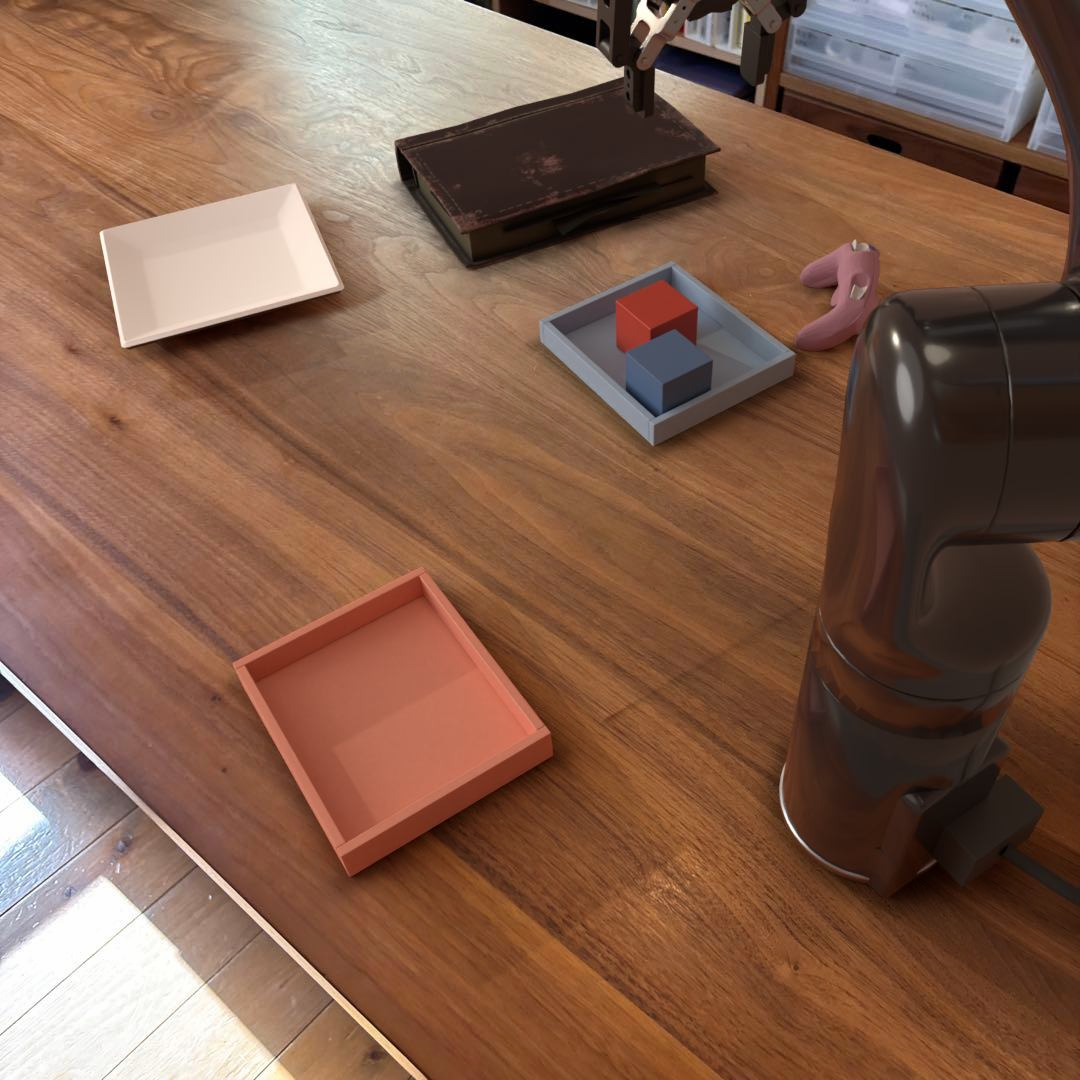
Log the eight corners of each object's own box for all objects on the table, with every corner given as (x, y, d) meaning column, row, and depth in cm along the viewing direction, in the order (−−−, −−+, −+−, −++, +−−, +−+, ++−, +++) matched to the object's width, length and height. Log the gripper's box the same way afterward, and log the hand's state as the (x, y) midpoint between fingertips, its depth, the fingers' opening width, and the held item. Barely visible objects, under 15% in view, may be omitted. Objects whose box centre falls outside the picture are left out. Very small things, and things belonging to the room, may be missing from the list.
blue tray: (792, 379, 85) (796, 353, 83) (653, 450, 81) (653, 425, 79) (671, 285, 94) (672, 260, 92) (540, 345, 89) (538, 320, 88)
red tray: (553, 755, 64) (551, 732, 62) (350, 877, 60) (341, 856, 58) (427, 589, 73) (422, 565, 71) (242, 686, 69) (231, 662, 67)
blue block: (710, 407, 83) (713, 359, 79) (661, 431, 81) (662, 384, 78) (673, 375, 85) (674, 328, 82) (625, 399, 84) (625, 352, 80)
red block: (696, 354, 87) (698, 306, 83) (649, 376, 85) (650, 329, 82) (661, 325, 89) (662, 278, 86) (615, 347, 88) (615, 300, 85)
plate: (106, 248, 103) (98, 229, 101) (302, 199, 106) (297, 180, 105) (129, 366, 91) (120, 346, 89) (349, 306, 95) (344, 286, 93)
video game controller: (838, 374, 87) (894, 312, 82) (788, 350, 86) (841, 285, 81) (841, 299, 93) (893, 237, 88) (795, 275, 93) (844, 211, 87)
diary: (399, 182, 107) (390, 133, 104) (628, 115, 113) (628, 67, 110) (470, 281, 96) (464, 231, 92) (722, 201, 102) (726, 151, 98)
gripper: (632, -111, 60) (628, 152, 73) (858, -168, 63) (816, 95, 76) (574, -161, 64) (581, 96, 77) (788, -212, 67) (760, 44, 80)
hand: (697, 96), depth 77 cm, fingers open, 8 cm apart
